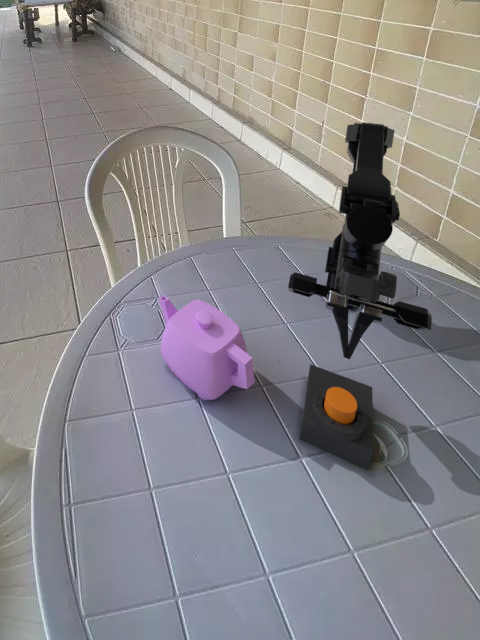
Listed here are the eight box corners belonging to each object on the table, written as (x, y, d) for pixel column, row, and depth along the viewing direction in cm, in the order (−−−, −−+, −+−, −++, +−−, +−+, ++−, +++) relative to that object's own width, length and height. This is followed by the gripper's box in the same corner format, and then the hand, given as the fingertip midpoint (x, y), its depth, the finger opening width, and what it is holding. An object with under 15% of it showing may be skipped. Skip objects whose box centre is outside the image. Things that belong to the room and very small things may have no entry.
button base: (307, 381, 74) (311, 356, 71) (367, 405, 69) (374, 378, 67) (299, 442, 65) (303, 415, 62) (368, 474, 60) (375, 446, 58)
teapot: (270, 387, 73) (277, 332, 68) (225, 435, 66) (229, 377, 62) (182, 319, 88) (183, 269, 84) (138, 352, 81) (137, 300, 77)
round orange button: (325, 394, 66) (327, 382, 65) (354, 405, 64) (357, 394, 63) (322, 416, 62) (325, 404, 62) (354, 429, 60) (357, 417, 60)
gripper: (296, 230, 67) (278, 333, 62) (445, 265, 58) (437, 389, 53) (297, 244, 76) (281, 335, 71) (426, 276, 67) (418, 383, 62)
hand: (346, 358), depth 64 cm, fingers closed
